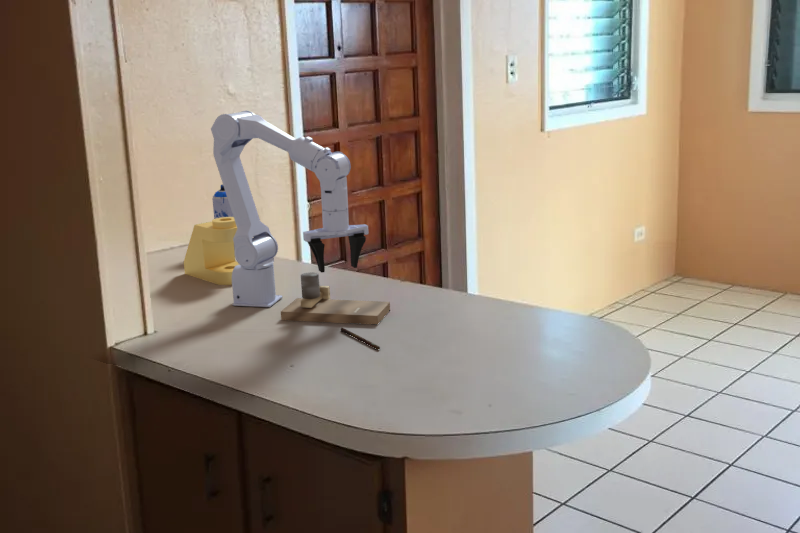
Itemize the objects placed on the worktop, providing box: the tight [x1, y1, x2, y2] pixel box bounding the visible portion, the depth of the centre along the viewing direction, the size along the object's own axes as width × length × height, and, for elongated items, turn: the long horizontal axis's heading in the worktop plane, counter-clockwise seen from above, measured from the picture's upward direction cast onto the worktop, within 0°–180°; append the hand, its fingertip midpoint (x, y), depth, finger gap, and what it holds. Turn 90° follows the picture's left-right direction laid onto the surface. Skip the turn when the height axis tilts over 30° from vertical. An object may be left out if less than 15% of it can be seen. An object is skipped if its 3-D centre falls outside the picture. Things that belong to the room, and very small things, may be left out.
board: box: [280, 297, 391, 325], centre depth 188 cm, size 22×10×2 cm, turn 76°
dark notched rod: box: [340, 327, 381, 350], centre depth 172 cm, size 15×1×1 cm, turn 33°
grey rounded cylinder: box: [300, 272, 331, 308], centre depth 191 cm, size 5×9×8 cm, turn 165°
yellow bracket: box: [183, 217, 240, 286], centre depth 222 cm, size 20×9×16 cm, turn 44°
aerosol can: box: [212, 184, 235, 251], centre depth 247 cm, size 8×8×20 cm
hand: (338, 269), depth 190 cm, fingers open, 7 cm apart
